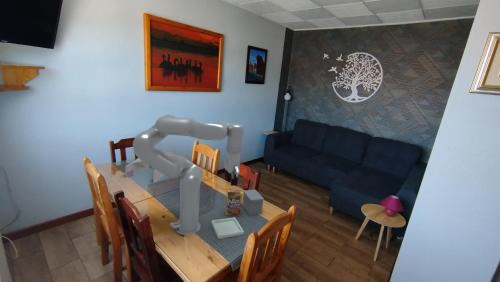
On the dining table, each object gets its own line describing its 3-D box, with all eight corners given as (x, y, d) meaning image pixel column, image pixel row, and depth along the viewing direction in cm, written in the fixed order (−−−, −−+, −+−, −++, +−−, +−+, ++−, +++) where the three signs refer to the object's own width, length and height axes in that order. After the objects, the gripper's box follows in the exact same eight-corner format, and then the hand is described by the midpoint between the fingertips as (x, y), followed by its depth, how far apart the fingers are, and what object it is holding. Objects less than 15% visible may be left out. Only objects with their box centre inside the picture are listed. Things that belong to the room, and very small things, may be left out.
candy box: (225, 215, 135) (227, 191, 132) (226, 211, 139) (228, 188, 136) (240, 216, 135) (242, 193, 132) (240, 213, 139) (243, 189, 136)
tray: (218, 239, 113) (218, 236, 113) (211, 223, 126) (211, 220, 125) (243, 235, 119) (243, 231, 118) (234, 220, 131) (234, 217, 131)
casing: (154, 184, 164) (154, 158, 160) (125, 179, 168) (125, 153, 163) (173, 171, 191) (174, 148, 187) (148, 167, 195) (148, 144, 190)
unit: (249, 216, 137) (251, 200, 134) (241, 205, 148) (243, 190, 146) (262, 214, 140) (264, 198, 138) (253, 204, 151) (255, 189, 149)
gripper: (221, 144, 118) (218, 175, 122) (232, 154, 103) (228, 189, 107) (235, 144, 121) (232, 174, 125) (247, 154, 106) (243, 188, 110)
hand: (230, 181), depth 116 cm, fingers open, 9 cm apart
